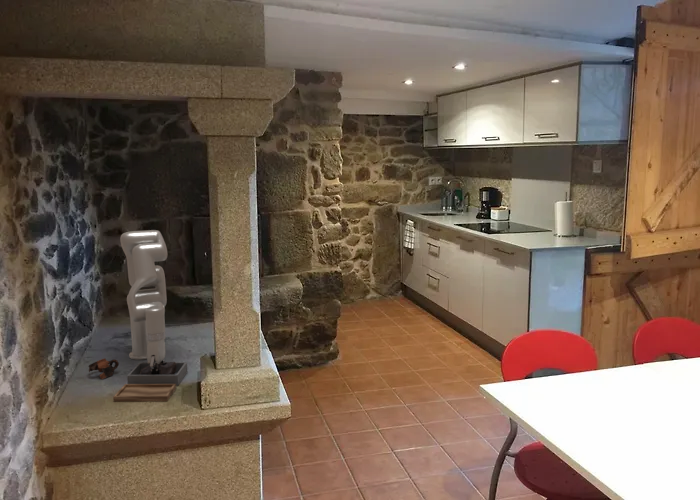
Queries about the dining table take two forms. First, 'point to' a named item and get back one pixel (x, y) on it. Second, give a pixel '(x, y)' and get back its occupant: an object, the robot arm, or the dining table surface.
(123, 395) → the walnut tray
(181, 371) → the charcoal bin
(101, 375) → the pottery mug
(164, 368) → the perforated stone tool
